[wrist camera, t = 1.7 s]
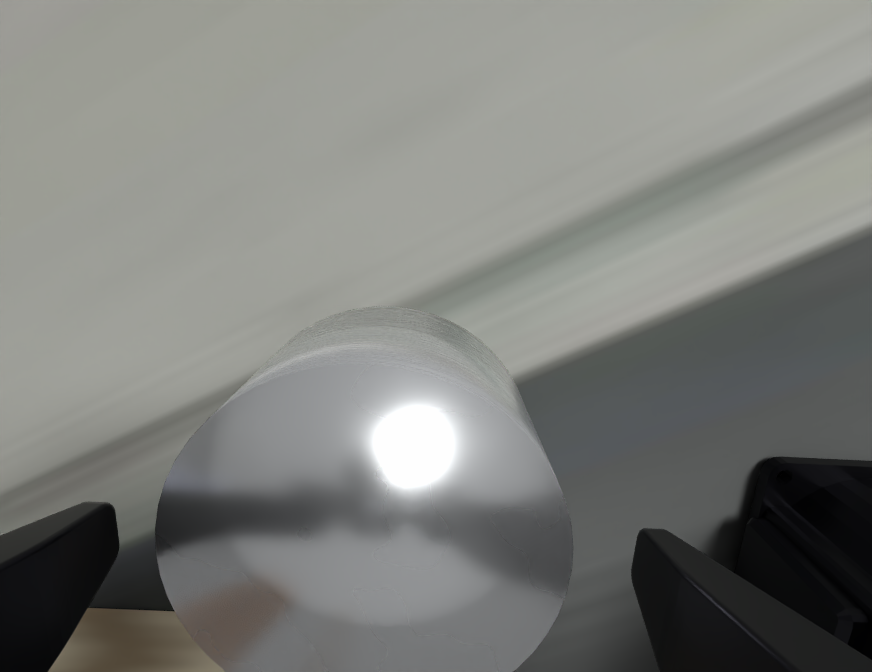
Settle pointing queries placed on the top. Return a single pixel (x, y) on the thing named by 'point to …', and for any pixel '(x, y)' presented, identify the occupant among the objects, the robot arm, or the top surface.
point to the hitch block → (132, 644)
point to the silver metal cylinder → (368, 508)
